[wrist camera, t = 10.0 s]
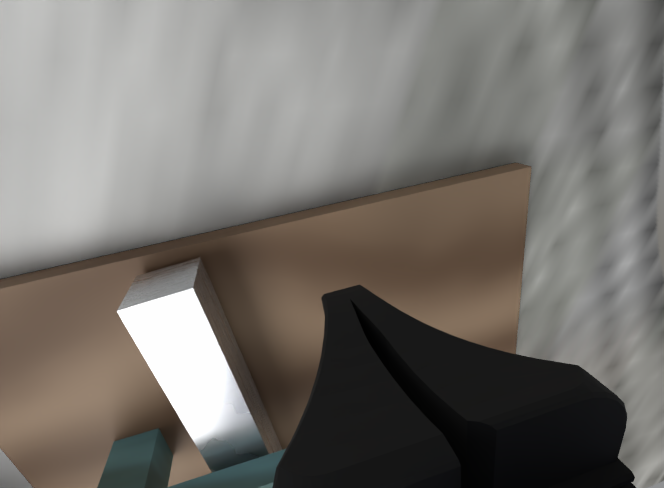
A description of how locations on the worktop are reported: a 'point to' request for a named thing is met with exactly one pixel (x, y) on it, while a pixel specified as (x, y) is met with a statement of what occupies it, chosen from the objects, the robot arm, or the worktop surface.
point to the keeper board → (246, 324)
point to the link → (198, 363)
